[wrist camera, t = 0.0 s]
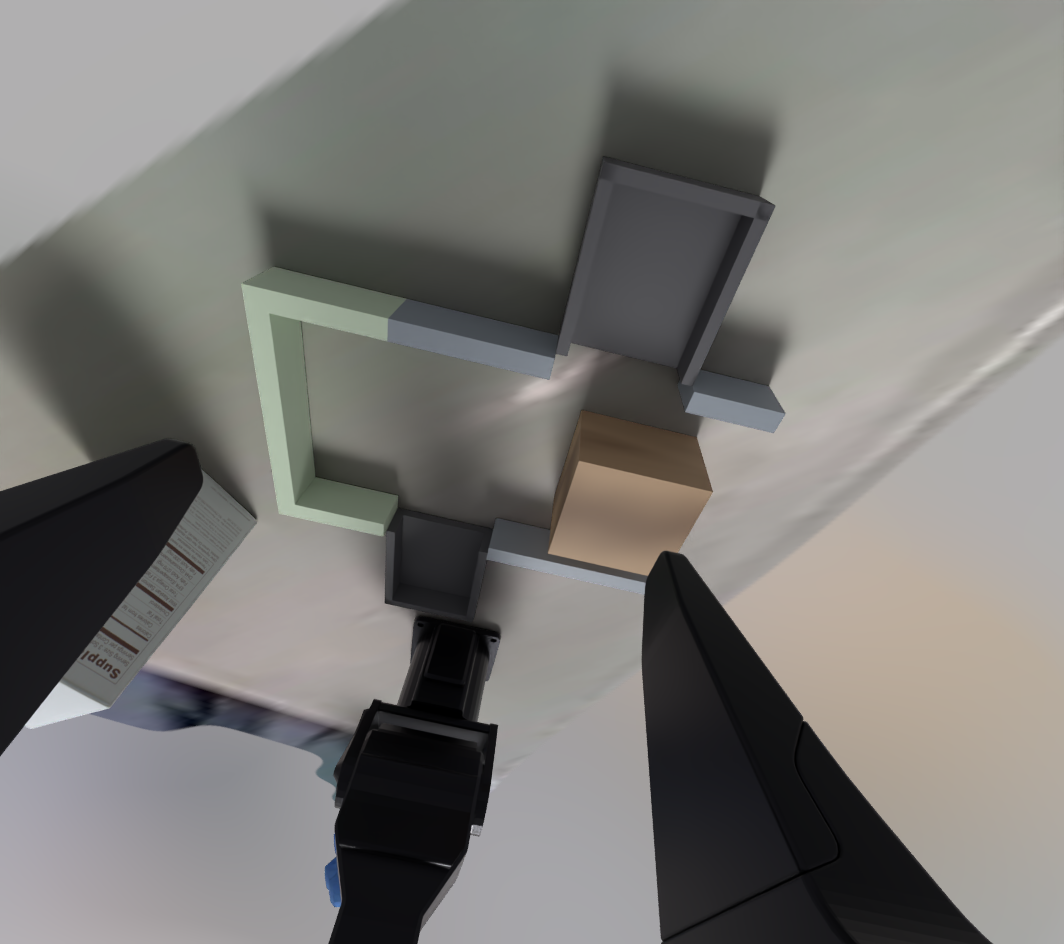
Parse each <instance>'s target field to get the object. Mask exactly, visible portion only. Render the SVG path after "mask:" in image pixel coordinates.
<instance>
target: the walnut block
mask: <svg viewBox="0 0 1064 944" xmlns="http://www.w3.org/2000/svg"><path fill="white" fill-rule="evenodd" d="M712 493H713V491H712V487H711V484H710V480H709V477H708V474H707V470H706V467H705V464H704V460H703V457H702V453H701V450H700V447H699V443H698V440H697V437H693V436H689V435H685V434H681V433H676V432H672V431H668V430H664V429H660V428H655V427H651V426H647V425H643V424H639V423H634V422H630V421H626V420H622V419H618V418H613V417H609V416H605V415H601V414H597V413H593V412H588V411H584V410H581V413H580V416H579V420H578V423H577V426H576V429H575V432H574V436H573V439H572V442H571V445H570V448H569V451H568V455H567V458H566V461H565V464H564V467H563V471H562V474H561V477H560V480H559V483H558V486H557V490H556V493H555V496H554V502H553V511H552V520H551V529H550V538H549V547H548V554H552V555H557V556H561V557H566V558H570V559H575V560H579V561H583V562H588V563H592V564H597V565H601V566H606V567H610V568H615V569H619V570H624V571H628V572H633V573H637V574H641V575H646V576H648V575H649V573H650V571H651V569H652V567H653V566H654V564H655V562H656V560H657V558H658V556H659V555H660V553H661V552H662V551H671V552H675V553H678V551H679V550H680V548H681V546H682V544H683V543H684V541H685V539H686V538H687V536H688V534H689V532H690V531H691V529H692V527H693V525H694V524H695V522H696V520H697V519H698V517H699V515H700V513H701V512H702V510H703V508H704V507H705V505H706V503H707V501H708V500H709V498H710V496H711V494H712Z"/></svg>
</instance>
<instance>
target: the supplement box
mask: <svg viewBox="0 0 1064 944" xmlns="http://www.w3.org/2000/svg"><path fill="white" fill-rule="evenodd" d="M201 470H202V469H201ZM202 473H203V485H202V488H201V490H200V491H199V493H198V495H197V496H196V498H195V499H194V501H193V503H192V504H191V506H190V507H189V509H188V511H187V512H186V514H185V515H184V517H183V519H182V520H181V522H180V523H179V525H178V527H177V528H176V530H175V531H174V533H173V534H172V536H171V538H170V539H169V541H168V542H167V544H166V546H165V547H164V548H163V550H162V551H161V553H160V554H159V556H158V557H157V559H156V560H155V561H154V563H153V564H152V565H151V567H150V568H149V569H148V570H147V572H146V573H145V574H144V575H143V577H142V578H141V579H140V580H139V582H138V583H137V584H136V586H135V587H134V588H133V589H132V591H131V592H130V593H129V594H128V596H127V597H126V598H125V599H124V601H123V602H122V603H121V604H120V606H119V607H118V608H117V610H116V611H115V612H114V613H113V615H112V616H111V617H110V618H109V620H108V621H107V622H106V623H105V625H104V626H103V627H102V628H101V630H100V631H99V632H98V634H97V635H96V636H95V637H94V639H93V640H92V641H91V642H90V644H89V645H88V646H87V647H86V649H85V650H84V651H83V652H82V654H81V655H80V656H79V658H78V659H77V660H76V661H75V663H74V664H73V665H72V666H71V668H70V669H69V670H68V671H67V673H66V674H65V675H64V676H63V678H62V679H61V680H60V682H59V683H58V684H57V685H56V687H55V688H54V689H53V690H52V692H51V693H50V694H49V695H48V697H47V698H46V699H45V700H44V702H43V703H42V704H41V705H40V707H39V708H38V709H37V711H36V712H35V713H34V714H33V716H32V717H31V718H30V719H29V721H28V722H27V723H26V724H25V727H27V728H31V729H33V728H37V727H40V726H44V725H48V724H51V723H54V722H59V721H62V720H66V719H70V718H74V717H78V716H81V715H85V714H89V713H93V712H97V711H101V710H105V709H109V708H110V707H111V706H112V705H113V704H114V702H115V701H116V700H117V698H118V697H119V696H120V695H121V693H122V692H123V691H124V690H125V688H126V687H127V686H128V685H129V683H130V682H131V681H132V680H133V678H134V677H135V676H136V675H137V673H138V672H139V671H140V669H141V668H142V667H143V666H144V665H145V663H146V662H147V661H148V660H149V658H150V657H151V656H152V654H153V653H154V652H155V650H156V649H157V648H158V647H159V646H160V645H161V643H162V642H163V641H164V640H165V638H166V637H167V636H168V635H169V633H170V632H171V631H172V630H173V628H174V627H175V626H176V625H177V623H178V622H179V621H180V620H181V619H182V617H183V616H184V615H185V614H186V612H187V611H188V610H189V609H190V607H191V606H192V605H193V603H194V602H195V601H196V600H197V598H198V597H199V596H200V595H201V593H202V592H203V591H204V590H205V588H206V587H207V586H208V585H209V583H210V582H211V581H212V580H213V578H214V577H215V576H216V574H217V573H218V572H219V571H220V569H221V568H222V567H223V566H224V564H225V563H226V562H227V561H228V559H229V558H230V557H231V556H232V554H233V553H234V552H235V550H236V549H237V548H238V547H239V545H240V544H241V543H242V541H243V540H244V539H245V537H246V536H247V535H248V534H249V533H250V531H251V530H252V529H253V528H254V526H255V525H256V524H257V521H256V520H255V518H254V517H253V516H252V515H251V514H250V513H249V512H248V511H247V510H246V509H245V508H244V507H242V506H241V505H240V504H239V503H238V502H237V501H236V500H235V499H234V498H233V497H232V496H230V495H229V494H228V493H227V492H226V491H225V490H224V489H223V488H222V487H221V486H220V485H219V484H217V483H216V482H215V481H214V480H213V479H212V478H211V477H210V476H209V475H208V474H207V473H205V472H204V471H203V470H202Z"/></svg>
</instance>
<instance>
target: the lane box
mask: <svg viewBox="0 0 1064 944" xmlns="http://www.w3.org/2000/svg"><path fill="white" fill-rule="evenodd" d="M774 208H775V205H774V204H772V203H770V202H769V201H767V200H765V199H764V198H762V197H760V196H756V195H752V194H749V193H745V192H741V191H737V190H733V189H729V188H725V187H721V186H717V185H714V184H710V183H706V182H702V181H698V180H694V179H690V178H686V177H682V176H678V175H675V174H671V173H667V172H663V171H659V170H655V169H651V168H647V167H643V166H640V165H636V164H632V163H628V162H624V161H620V160H616V159H612V158H608V157H604V156H603V160H602V164H601V168H600V172H599V176H598V180H597V184H596V188H595V192H594V196H593V200H592V204H591V208H590V212H589V216H588V220H587V224H586V228H585V232H584V236H583V240H582V244H581V248H580V252H579V256H578V260H577V264H576V268H575V272H574V276H573V280H572V284H571V288H570V292H569V296H568V300H567V304H566V308H565V312H564V316H563V320H562V324H561V328H560V332H559V335H555V334H551V333H547V332H542V331H538V330H534V329H530V328H526V327H522V326H518V325H513V324H509V323H505V322H501V321H497V320H493V319H489V318H484V317H480V316H476V315H472V314H468V313H464V312H460V311H455V310H451V309H447V308H443V307H439V306H435V305H430V304H426V303H422V302H418V301H414V300H410V299H406V298H401V297H397V296H393V295H389V294H385V293H381V292H377V291H372V290H368V289H364V288H360V287H356V286H352V285H348V284H343V283H339V282H335V281H331V280H327V279H323V278H319V277H314V276H310V275H306V274H302V273H298V272H294V271H290V270H285V269H281V268H277V267H272V268H270V269H268V270H266V271H264V272H262V273H261V274H259V275H257V276H255V277H253V278H251V279H249V280H247V281H245V282H243V283H241V286H242V292H243V298H244V304H245V310H246V316H247V322H248V328H249V334H250V340H251V346H252V352H253V359H254V365H255V371H256V377H257V383H258V389H259V395H260V401H261V407H262V413H263V419H264V425H265V431H266V438H267V444H268V450H269V456H270V462H271V468H272V474H273V480H274V486H275V492H276V498H277V504H278V511H279V514H283V515H288V516H292V517H297V518H301V519H306V520H310V521H315V522H319V523H324V524H328V525H333V526H337V527H342V528H346V529H351V530H355V531H360V532H364V533H369V534H373V535H378V536H382V537H384V535H385V533H386V570H385V604H390V605H395V606H399V607H404V608H409V609H413V610H418V611H422V612H427V613H432V614H436V615H441V616H445V617H450V618H455V619H459V620H464V621H469V622H473V619H474V615H475V611H476V607H477V603H478V598H479V594H480V589H481V585H482V580H483V576H484V571H485V566H486V562H487V560H490V561H495V562H499V563H504V564H508V565H513V566H517V567H522V568H526V569H531V570H535V571H540V572H544V573H549V574H553V575H558V576H562V577H567V578H571V579H576V580H580V581H585V582H590V583H594V584H599V585H603V586H608V587H612V588H617V589H621V590H626V591H630V592H635V593H639V594H644V595H645V583H646V580H647V577H648V576H646V575H641V574H637V573H633V572H628V571H624V570H619V569H615V568H610V567H606V566H601V565H597V564H592V563H588V562H583V561H579V560H575V559H570V558H566V557H561V556H557V555H552V554H548V547H549V538H550V530H548V529H543V528H539V527H535V526H530V525H526V524H521V523H517V522H512V521H508V520H503V519H499V518H496V520H495V525H494V529H490V528H485V527H481V526H477V525H472V524H468V523H463V522H459V521H454V520H450V519H445V518H441V517H436V516H432V515H427V514H423V513H419V512H414V511H410V510H405V509H401V508H398V496H397V495H393V494H388V493H384V492H379V491H375V490H370V489H366V488H362V487H357V486H353V485H348V484H344V483H339V482H335V481H330V480H326V479H322V478H317V477H315V467H314V456H313V445H312V435H311V424H310V414H309V403H308V392H307V382H306V371H305V360H304V350H303V339H302V329H301V321H304V322H308V323H312V324H316V325H321V326H325V327H329V328H333V329H337V330H342V331H346V332H350V333H354V334H358V335H363V336H367V337H371V338H375V339H379V340H384V341H388V342H392V343H396V344H401V345H405V346H409V347H413V348H417V349H422V350H426V351H430V352H434V353H438V354H443V355H447V356H451V357H455V358H459V359H464V360H468V361H472V362H476V363H481V364H485V365H489V366H493V367H497V368H502V369H506V370H510V371H514V372H518V373H523V374H527V375H531V376H535V377H539V378H544V379H548V380H550V376H551V372H552V368H553V364H554V360H555V354H560V355H564V356H567V355H568V351H569V348H570V344H571V343H574V344H578V345H582V346H586V347H590V348H594V349H599V350H603V351H607V352H611V353H615V354H619V355H623V356H628V357H632V358H636V359H640V360H644V361H648V362H652V363H657V364H661V365H665V366H669V367H673V368H677V371H678V374H679V378H680V381H679V383H678V389H679V392H680V396H681V400H682V403H683V407H684V410H685V412H687V413H691V414H695V415H699V416H704V417H708V418H712V419H716V420H720V421H725V422H729V423H733V424H737V425H742V426H746V427H750V428H754V429H758V430H763V431H767V432H771V433H774V432H775V430H776V429H777V427H778V425H779V424H780V422H781V421H782V419H783V417H784V416H785V412H784V410H783V408H782V407H781V405H780V403H779V402H778V400H777V398H776V397H775V395H774V393H773V392H772V390H771V388H770V387H769V386H766V385H762V384H758V383H754V382H750V381H745V380H741V379H737V378H733V377H729V376H725V375H721V374H716V373H712V372H708V371H704V370H700V369H701V367H702V365H703V363H704V360H705V358H706V356H707V354H708V352H709V349H710V347H711V345H712V343H713V341H714V339H715V336H716V334H717V332H718V330H719V328H720V326H721V323H722V321H723V319H724V317H725V315H726V313H727V310H728V308H729V306H730V304H731V302H732V299H733V297H734V295H735V293H736V291H737V289H738V286H739V284H740V282H741V280H742V278H743V276H744V273H745V271H746V269H747V267H748V265H749V262H750V260H751V258H752V256H753V254H754V252H755V249H756V247H757V245H758V243H759V241H760V239H761V236H762V234H763V232H764V230H765V228H766V226H767V223H768V221H769V219H770V217H771V215H772V212H773V210H774Z"/></svg>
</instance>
